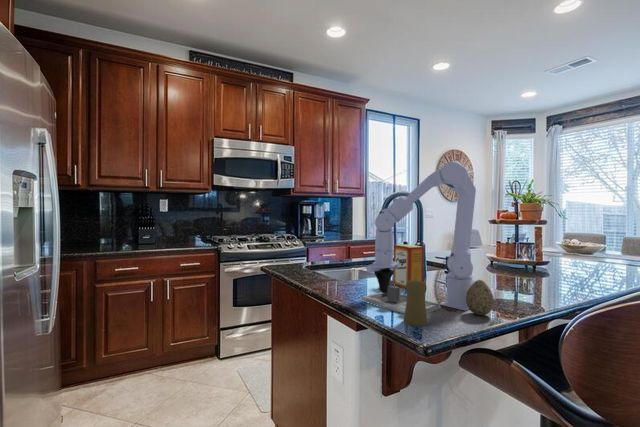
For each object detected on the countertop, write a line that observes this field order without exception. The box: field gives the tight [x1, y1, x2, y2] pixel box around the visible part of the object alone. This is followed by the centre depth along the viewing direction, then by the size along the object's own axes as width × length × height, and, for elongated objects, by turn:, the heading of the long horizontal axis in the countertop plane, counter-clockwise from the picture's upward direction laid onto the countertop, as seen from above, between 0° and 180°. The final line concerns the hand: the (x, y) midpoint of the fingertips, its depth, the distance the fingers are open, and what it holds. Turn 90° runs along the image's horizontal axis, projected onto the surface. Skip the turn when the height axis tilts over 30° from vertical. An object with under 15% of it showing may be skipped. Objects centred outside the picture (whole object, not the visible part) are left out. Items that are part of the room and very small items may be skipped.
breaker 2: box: [387, 285, 401, 302], centre depth 102 cm, size 2×3×4 cm, turn 42°
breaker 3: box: [382, 277, 394, 294], centre depth 111 cm, size 2×3×5 cm, turn 42°
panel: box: [361, 291, 440, 315], centre depth 104 cm, size 12×20×2 cm, turn 42°
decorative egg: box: [466, 279, 495, 316], centre depth 95 cm, size 7×7×10 cm
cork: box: [403, 280, 428, 327], centre depth 88 cm, size 6×6×11 cm
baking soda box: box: [392, 243, 425, 290], centre depth 129 cm, size 10×6×16 cm
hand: (383, 291), depth 110 cm, fingers closed
